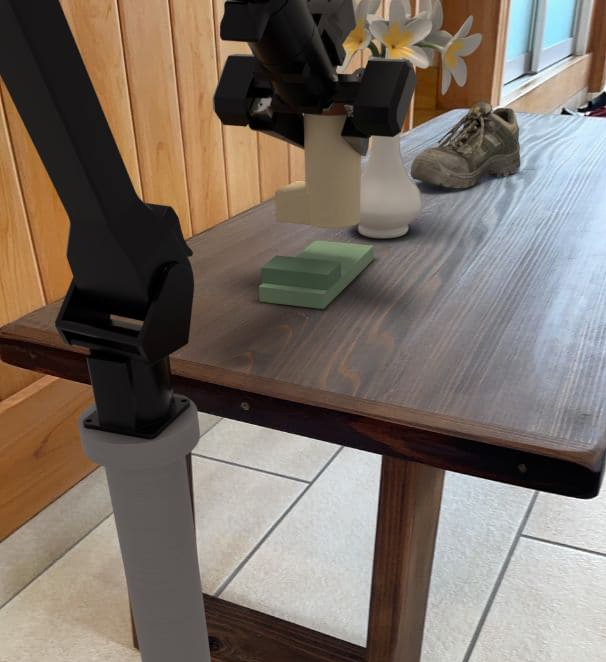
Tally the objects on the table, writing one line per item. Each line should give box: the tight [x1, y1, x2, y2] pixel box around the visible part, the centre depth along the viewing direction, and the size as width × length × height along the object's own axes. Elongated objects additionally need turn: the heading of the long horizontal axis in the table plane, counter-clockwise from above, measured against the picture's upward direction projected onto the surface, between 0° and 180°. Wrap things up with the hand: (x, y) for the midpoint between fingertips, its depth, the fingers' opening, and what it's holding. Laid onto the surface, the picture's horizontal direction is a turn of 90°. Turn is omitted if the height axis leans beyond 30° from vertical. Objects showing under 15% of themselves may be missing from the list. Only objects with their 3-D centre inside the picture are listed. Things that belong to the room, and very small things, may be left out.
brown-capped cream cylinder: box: [274, 103, 362, 230], centre depth 85 cm, size 8×6×12 cm
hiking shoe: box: [409, 100, 521, 189], centre depth 122 cm, size 9×21×12 cm, turn 133°
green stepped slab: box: [258, 239, 375, 310], centre depth 91 cm, size 16×7×3 cm, turn 158°
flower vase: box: [336, 0, 483, 239], centre depth 98 cm, size 13×18×25 cm
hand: (338, 149), depth 85 cm, fingers closed on brown-capped cream cylinder, 5 cm apart
